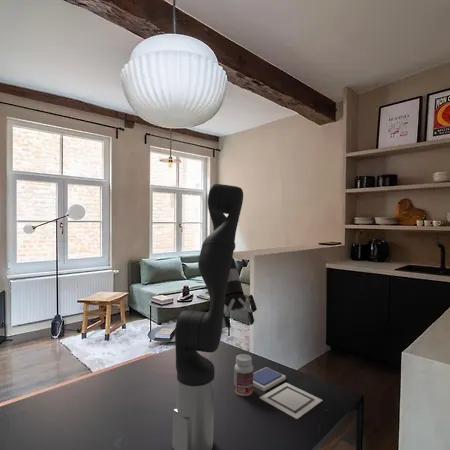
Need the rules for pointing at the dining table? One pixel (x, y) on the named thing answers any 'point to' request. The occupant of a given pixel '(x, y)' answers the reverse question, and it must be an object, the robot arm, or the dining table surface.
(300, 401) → the white flat square slab
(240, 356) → the pill bottle
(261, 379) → the ink pad
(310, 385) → the dining table surface
